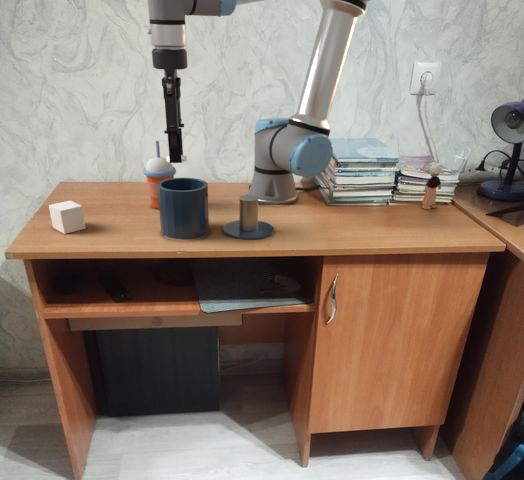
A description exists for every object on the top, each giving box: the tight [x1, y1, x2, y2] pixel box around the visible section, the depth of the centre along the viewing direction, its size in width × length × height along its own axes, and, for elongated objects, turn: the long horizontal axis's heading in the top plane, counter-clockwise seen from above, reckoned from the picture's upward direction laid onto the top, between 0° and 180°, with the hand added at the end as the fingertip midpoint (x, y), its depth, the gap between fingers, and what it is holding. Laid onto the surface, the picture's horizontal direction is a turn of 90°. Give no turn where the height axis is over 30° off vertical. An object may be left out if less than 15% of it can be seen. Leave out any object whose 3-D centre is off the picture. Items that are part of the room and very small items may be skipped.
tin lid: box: [222, 194, 275, 241], centre depth 134 cm, size 13×13×9 cm
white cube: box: [48, 200, 87, 235], centre depth 134 cm, size 6×6×6 cm
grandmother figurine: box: [421, 163, 442, 210], centre depth 154 cm, size 8×4×13 cm, turn 139°
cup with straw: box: [142, 140, 177, 210], centre depth 148 cm, size 9×9×18 cm
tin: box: [157, 177, 210, 241], centre depth 132 cm, size 12×12×12 cm
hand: (176, 159), depth 125 cm, fingers closed on chess piece, 5 cm apart
